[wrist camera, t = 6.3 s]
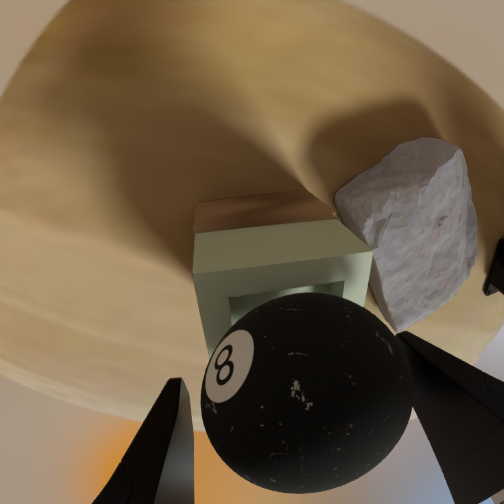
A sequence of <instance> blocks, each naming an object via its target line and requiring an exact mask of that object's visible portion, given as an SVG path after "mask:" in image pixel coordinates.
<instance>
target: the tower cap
mask: <svg viewBox="0 0 504 504" xmlns="http://www.w3.org/2000/svg"><path fill="white" fill-rule="evenodd" d="M372 256H373V250H371V249H370V248H369V247H368V246H367V245H366V244H365V243H364V242H363V241H361V240H360V239H359V238H358V237H357V236H356V235H355V234H354V233H352V232H351V231H350V230H349V229H348V228H347V227H346V226H344V225H343V224H342V223H341V222H340V221H339V220H337V219H331V220H320V221H309V222H298V223H288V224H278V225H268V226H259V227H249V228H240V229H231V230H222V231H213V232H204V233H196V234H195V243H194V257H193V271H192V275H193V280H194V286H195V291H196V296H197V301H198V306H199V311H200V316H201V321H202V326H203V331H204V335H205V340H206V345H207V349H208V353H209V358H211V356H212V354H213V352H214V350H215V348H216V347H217V345H218V343H219V342H220V340H221V339H222V337H223V336H224V335H225V334H226V332H227V331H228V330H229V329H230V328H231V327H232V326H233V325H234V324H235V323H236V322H237V321H238V320H239V319H240V318H242V317H243V316H244V315H245V314H247V313H248V312H250V311H251V310H253V309H254V308H256V307H258V306H259V305H261V304H263V303H265V302H268V301H270V300H272V299H275V298H278V297H281V296H285V295H289V294H295V293H304V292H316V293H326V294H331V295H335V296H339V297H342V298H345V299H348V300H350V301H352V302H354V303H357V304H358V305H360V306H362V307H364V303H365V298H366V293H367V287H368V281H369V276H370V269H371V263H372Z"/></svg>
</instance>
